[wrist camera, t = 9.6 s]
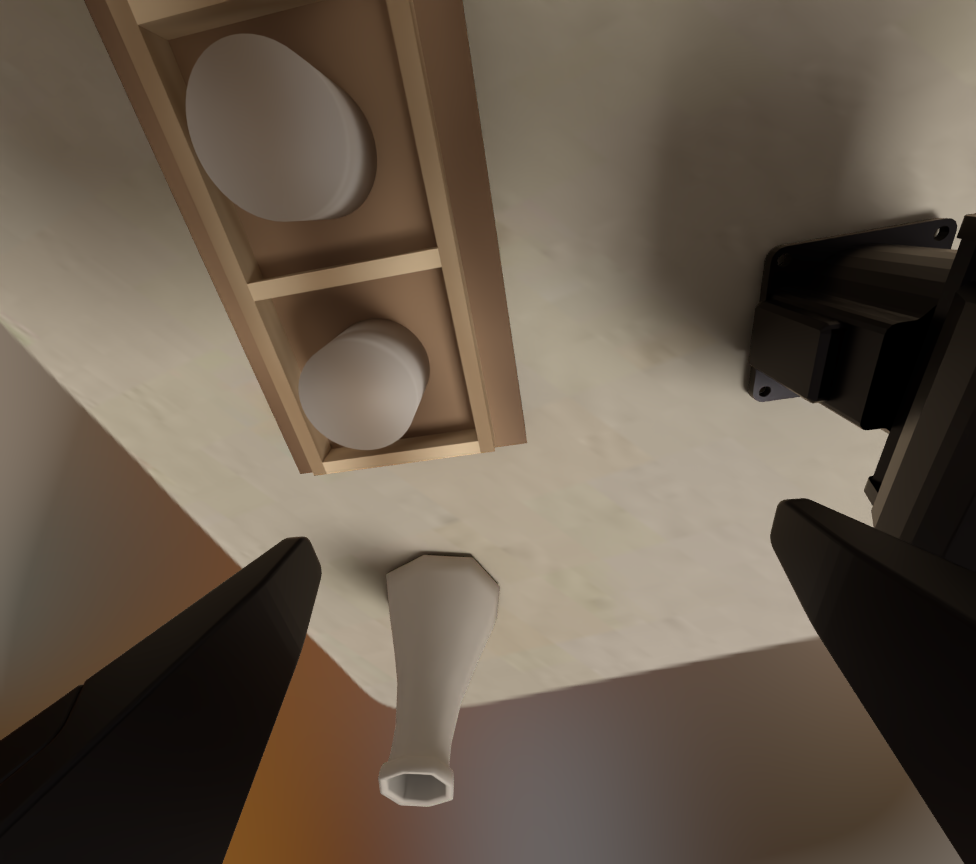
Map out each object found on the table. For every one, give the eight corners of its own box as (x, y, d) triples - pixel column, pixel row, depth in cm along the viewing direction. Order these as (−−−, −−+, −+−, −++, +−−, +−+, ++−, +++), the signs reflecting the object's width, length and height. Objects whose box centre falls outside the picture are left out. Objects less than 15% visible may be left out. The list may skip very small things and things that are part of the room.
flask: (367, 562, 25) (295, 756, 16) (483, 539, 24) (475, 733, 15) (410, 638, 28) (370, 834, 19) (514, 621, 27) (521, 820, 18)
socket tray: (381, -552, 9) (269, -1270, 5) (525, 428, 20) (531, 488, 16) (-49, -382, 10) (-468, -834, 6) (312, 457, 21) (264, 521, 17)
